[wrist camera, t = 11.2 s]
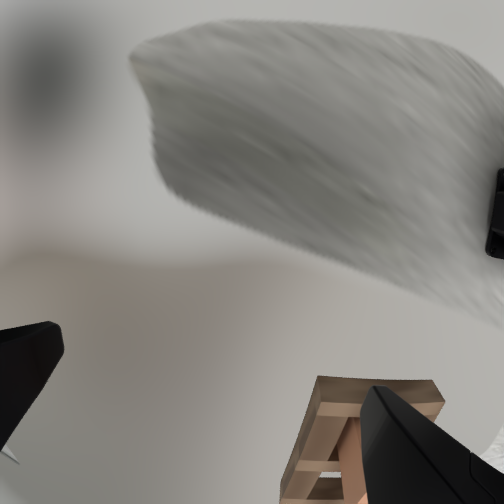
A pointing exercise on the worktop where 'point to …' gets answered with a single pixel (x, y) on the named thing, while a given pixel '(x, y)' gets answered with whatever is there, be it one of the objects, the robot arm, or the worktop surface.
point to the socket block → (329, 429)
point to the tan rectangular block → (352, 462)
